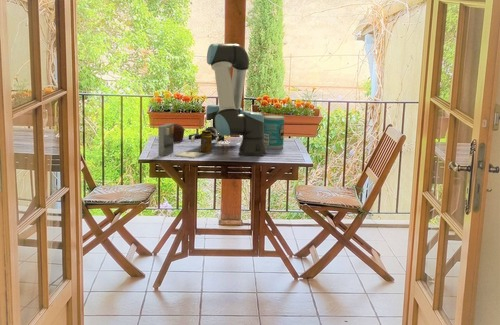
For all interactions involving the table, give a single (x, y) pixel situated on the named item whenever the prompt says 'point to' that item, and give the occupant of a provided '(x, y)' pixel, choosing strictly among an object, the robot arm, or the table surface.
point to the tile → (189, 154)
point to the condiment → (206, 142)
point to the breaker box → (166, 139)
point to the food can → (273, 131)
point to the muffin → (178, 133)
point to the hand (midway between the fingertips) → (204, 140)
